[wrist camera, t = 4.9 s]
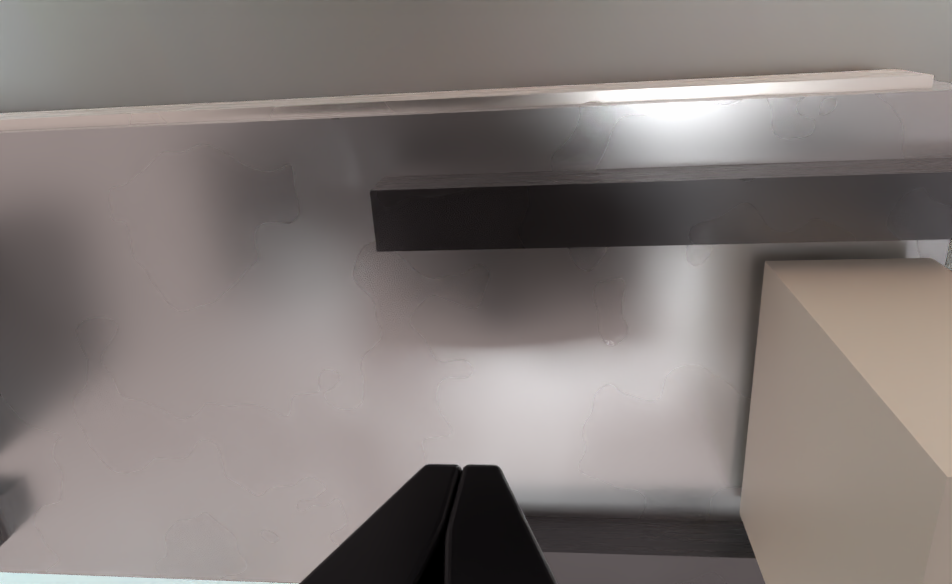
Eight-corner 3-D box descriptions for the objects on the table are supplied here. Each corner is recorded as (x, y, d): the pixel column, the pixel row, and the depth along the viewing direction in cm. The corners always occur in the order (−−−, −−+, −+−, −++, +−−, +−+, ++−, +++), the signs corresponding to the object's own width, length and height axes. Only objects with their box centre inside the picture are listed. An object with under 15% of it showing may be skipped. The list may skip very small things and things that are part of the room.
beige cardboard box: (931, 257, 9) (1276, 481, 5) (880, 515, 10) (1106, 864, 6) (764, 260, 9) (948, 476, 5) (739, 512, 10) (861, 845, 6)
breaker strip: (926, 62, 10) (1057, 79, 7) (847, 521, 13) (919, 648, 10) (-193, 118, 12) (-395, 147, 10) (-40, 499, 15) (-162, 600, 13)
